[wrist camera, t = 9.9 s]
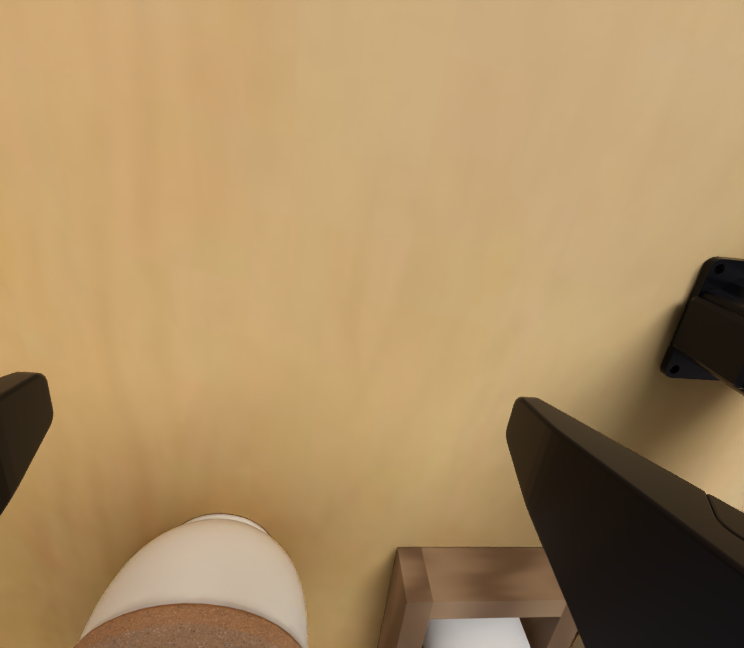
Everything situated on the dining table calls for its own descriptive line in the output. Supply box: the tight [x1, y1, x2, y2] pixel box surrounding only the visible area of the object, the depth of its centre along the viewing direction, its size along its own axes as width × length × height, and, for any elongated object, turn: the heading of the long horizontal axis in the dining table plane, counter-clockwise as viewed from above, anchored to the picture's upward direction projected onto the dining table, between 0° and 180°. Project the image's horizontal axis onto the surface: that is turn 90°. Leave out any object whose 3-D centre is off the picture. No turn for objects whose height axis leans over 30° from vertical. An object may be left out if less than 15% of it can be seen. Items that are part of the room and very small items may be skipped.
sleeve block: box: [378, 547, 578, 648], centre depth 30 cm, size 11×11×4 cm
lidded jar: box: [74, 514, 308, 648], centre depth 23 cm, size 11×11×9 cm
